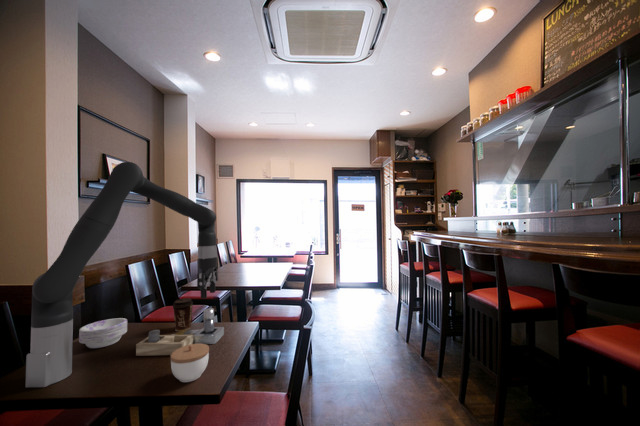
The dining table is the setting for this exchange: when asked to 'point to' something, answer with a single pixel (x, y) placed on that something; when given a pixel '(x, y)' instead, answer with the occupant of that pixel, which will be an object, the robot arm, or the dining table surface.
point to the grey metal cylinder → (209, 321)
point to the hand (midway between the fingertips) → (208, 295)
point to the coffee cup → (183, 314)
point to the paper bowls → (103, 332)
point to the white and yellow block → (187, 332)
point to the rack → (162, 343)
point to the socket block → (208, 336)
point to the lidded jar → (189, 362)
